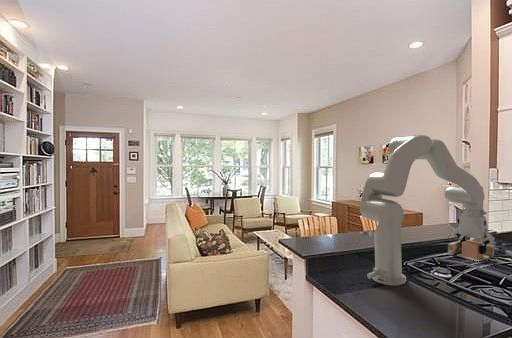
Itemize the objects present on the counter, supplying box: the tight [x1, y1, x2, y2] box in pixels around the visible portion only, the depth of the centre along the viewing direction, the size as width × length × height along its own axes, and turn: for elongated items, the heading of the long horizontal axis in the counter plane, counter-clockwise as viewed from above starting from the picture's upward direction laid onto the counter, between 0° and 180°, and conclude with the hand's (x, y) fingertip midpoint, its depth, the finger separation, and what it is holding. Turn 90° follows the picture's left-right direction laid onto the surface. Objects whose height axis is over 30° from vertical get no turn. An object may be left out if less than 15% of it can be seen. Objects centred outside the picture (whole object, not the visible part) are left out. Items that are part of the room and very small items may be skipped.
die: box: [469, 237, 495, 246], centre depth 140 cm, size 8×9×10 cm
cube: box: [461, 239, 484, 259], centre depth 131 cm, size 6×6×6 cm
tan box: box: [447, 238, 495, 263], centre depth 133 cm, size 13×12×5 cm
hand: (472, 250), depth 131 cm, fingers open, 7 cm apart
